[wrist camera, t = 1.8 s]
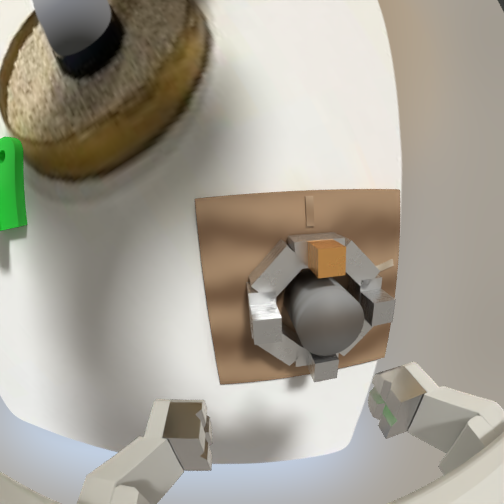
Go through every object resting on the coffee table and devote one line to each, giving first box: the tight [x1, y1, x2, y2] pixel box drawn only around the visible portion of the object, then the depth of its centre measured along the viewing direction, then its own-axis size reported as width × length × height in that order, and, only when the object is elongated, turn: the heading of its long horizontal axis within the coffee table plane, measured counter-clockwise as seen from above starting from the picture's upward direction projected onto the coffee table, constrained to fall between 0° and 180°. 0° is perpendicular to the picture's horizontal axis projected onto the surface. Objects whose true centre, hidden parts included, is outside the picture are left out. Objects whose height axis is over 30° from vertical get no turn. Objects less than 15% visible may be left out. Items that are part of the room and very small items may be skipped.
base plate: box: [195, 189, 400, 384], centre depth 26 cm, size 22×22×8 cm
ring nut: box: [246, 232, 395, 382], centre depth 25 cm, size 14×14×6 cm
